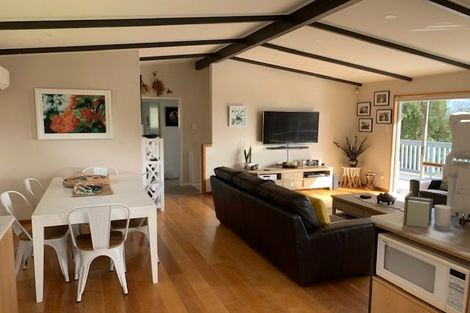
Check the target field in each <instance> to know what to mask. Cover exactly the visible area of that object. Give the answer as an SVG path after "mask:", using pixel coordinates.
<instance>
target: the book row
mask: <svg viewBox="0 0 470 313" xmlns="http://www.w3.org/2000/svg"><path fill="white" fill-rule="evenodd" d="M413 197H414V196H412V197H409V200H408V205H407V221H406V224H405V225H406V226H414V227H418V226H419V227H418V228H424V227H425V228H426V229H428V228H429V226H430V220H429V215H430V200H429V199H430V198H427V199H421V198H422V197H418V198H413Z"/></svg>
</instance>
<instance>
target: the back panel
mask: <svg viewBox="0 0 470 313" xmlns="http://www.w3.org/2000/svg"><path fill="white" fill-rule="evenodd" d="M409 197H413V191H412V190H410V191H409V192H408V193H407V194H406V195H405V196H404V203H403V204H404V206H403V221H402V222H403V224H402V225H406V221H407V205H408V200H409Z"/></svg>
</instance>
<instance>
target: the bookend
mask: <svg viewBox="0 0 470 313" xmlns="http://www.w3.org/2000/svg"><path fill="white" fill-rule="evenodd" d="M412 197H413V198H419V197H416V196H412ZM420 198H421V199H429V200H430V215H429V222H430V221H432V220H433V216H432V214H433V198H426V197H420Z"/></svg>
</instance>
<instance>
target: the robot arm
mask: <svg viewBox="0 0 470 313" xmlns="http://www.w3.org/2000/svg"><path fill="white" fill-rule="evenodd" d="M448 127H449V130H450V133H451V150H450V152H449V153H448V154H447V156H446V158H445V165H444V168H445V169H444V170H445V176H446V177H447V178H448V184H447V196H446V197H447V198H446V206H450V207H452V209H451V217H457V218H458V219H459V220H458V225H460V227H464V228H465V226H466V225H467V219H469V218H470V162H469V161H470V112H454V113H451V114H449V116H448ZM453 159H456V160H464V161H453ZM465 160H466V161H465ZM464 213H465V216H464V217H463V214H464Z"/></svg>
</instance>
